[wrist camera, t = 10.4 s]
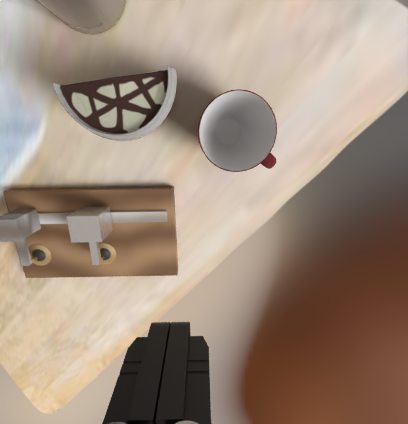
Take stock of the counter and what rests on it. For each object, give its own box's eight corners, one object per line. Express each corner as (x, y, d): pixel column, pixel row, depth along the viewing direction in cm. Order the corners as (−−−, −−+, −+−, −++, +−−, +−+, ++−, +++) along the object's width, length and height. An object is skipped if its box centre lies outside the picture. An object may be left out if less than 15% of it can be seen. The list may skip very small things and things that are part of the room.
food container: (101, 144, 36) (65, 149, 26) (90, 96, 34) (46, 83, 25) (188, 132, 36) (184, 133, 26) (181, 83, 34) (173, 65, 24)
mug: (283, 129, 35) (313, 129, 26) (252, 179, 38) (269, 196, 28) (217, 88, 34) (223, 72, 24) (188, 143, 36) (183, 148, 26)
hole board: (10, 189, 38) (-27, 200, 32) (173, 186, 38) (168, 197, 32) (31, 272, 42) (2, 297, 36) (178, 270, 42) (173, 294, 36)
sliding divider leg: (81, 206, 36) (66, 216, 32) (109, 206, 36) (98, 215, 32) (90, 258, 39) (77, 273, 35) (116, 258, 39) (106, 272, 35)
